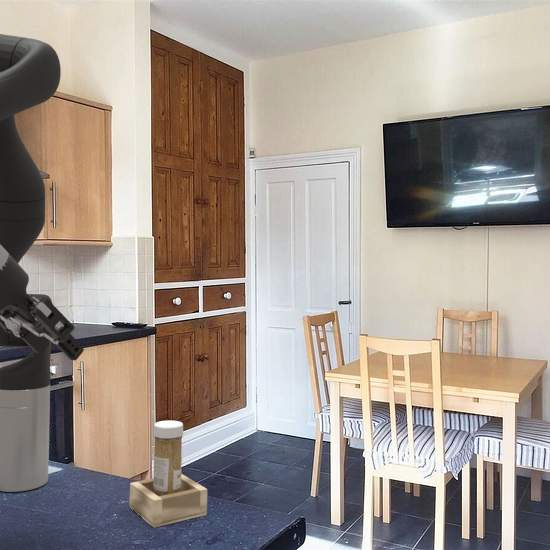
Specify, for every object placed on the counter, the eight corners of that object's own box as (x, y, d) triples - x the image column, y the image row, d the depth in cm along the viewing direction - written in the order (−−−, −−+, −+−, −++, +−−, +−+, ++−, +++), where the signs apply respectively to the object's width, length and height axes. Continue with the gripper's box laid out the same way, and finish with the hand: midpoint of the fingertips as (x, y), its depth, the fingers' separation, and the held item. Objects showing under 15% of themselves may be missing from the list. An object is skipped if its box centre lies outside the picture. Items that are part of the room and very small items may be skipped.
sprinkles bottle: (186, 509, 97) (188, 424, 97) (158, 515, 94) (160, 427, 94) (174, 500, 101) (176, 418, 101) (147, 505, 98) (149, 421, 98)
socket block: (129, 507, 99) (130, 483, 99) (179, 496, 104) (180, 473, 104) (153, 527, 91) (154, 500, 91) (206, 514, 97) (207, 489, 97)
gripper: (31, 249, 75) (108, 336, 84) (-25, 248, 84) (50, 327, 93) (-13, 293, 71) (72, 380, 80) (-67, 287, 80) (15, 366, 89)
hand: (60, 351), depth 87 cm, fingers open, 8 cm apart
